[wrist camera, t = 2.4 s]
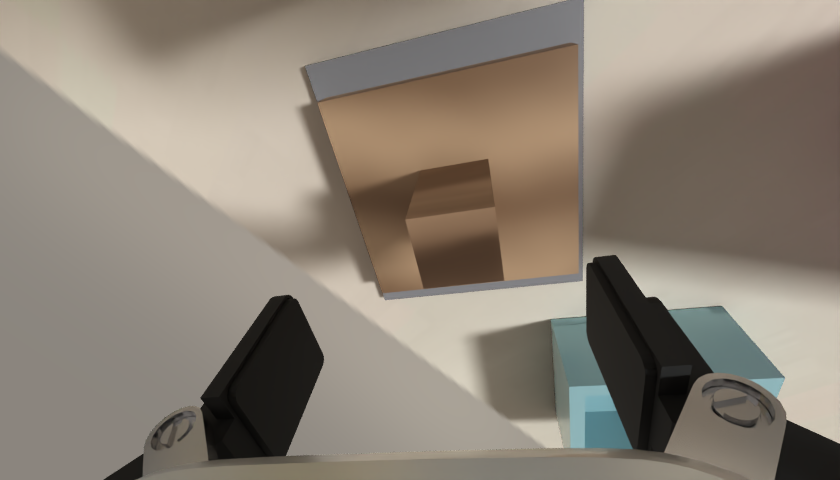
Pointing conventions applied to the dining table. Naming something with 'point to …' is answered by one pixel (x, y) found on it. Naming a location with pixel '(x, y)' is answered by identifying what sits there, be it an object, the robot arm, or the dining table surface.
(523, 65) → the lid
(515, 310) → the dining table surface
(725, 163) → the dining table surface
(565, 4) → the mat
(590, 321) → the robot arm
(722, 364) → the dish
